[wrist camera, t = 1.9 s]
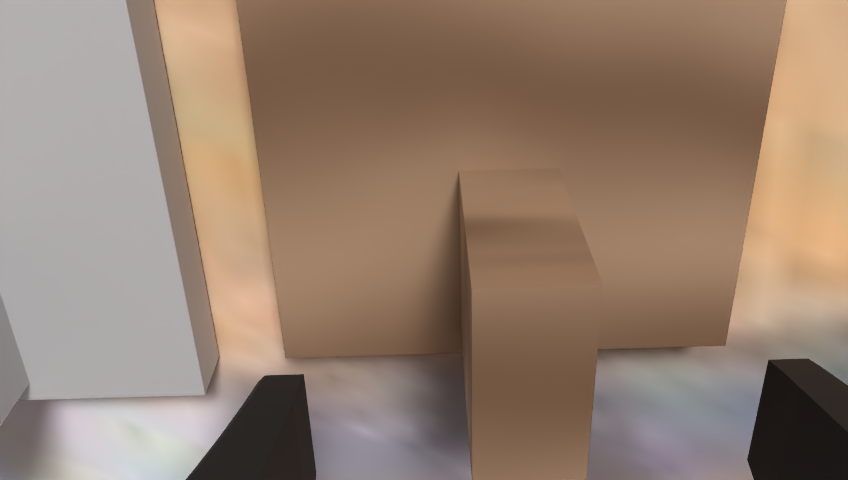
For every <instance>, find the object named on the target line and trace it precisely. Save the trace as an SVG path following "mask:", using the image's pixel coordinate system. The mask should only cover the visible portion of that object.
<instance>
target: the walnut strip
mask: <svg viewBox="0 0 848 480" xmlns="http://www.w3.org/2000/svg"><path fill="white" fill-rule="evenodd" d="M236 1H237V9H238V16H239V23H240V30H241V38H242V45H243V52H244V59H245V67H246V74H247V81H248V88H249V96H250V103H251V110H252V118H253V125H254V132H255V139H256V147H257V154H258V161H259V168H260V176H261V183H262V190H263V197H264V205H265V212H266V219H267V227H268V234H269V241H270V248H271V256H272V263H273V270H274V277H275V285H276V292H277V299H278V306H279V314H280V321H281V328H282V336H283V343H284V350H285V357H286V358H306V357H341V356H377V355H412V354H448V353H462V358H463V371H464V383H465V396H466V409H467V421H468V434H469V447H470V459H471V472H472V480H586V477H587V466H588V454H589V443H590V431H591V420H592V409H593V397H594V386H595V374H596V363H597V351H598V349H625V348H661V347H696V346H725V344H726V339H727V333H728V327H729V322H730V316H731V311H732V305H733V299H734V294H735V288H736V282H737V277H738V271H739V266H740V260H741V254H742V249H743V243H744V238H745V232H746V226H747V221H748V215H749V210H750V204H751V198H752V193H753V187H754V181H755V176H756V170H757V165H758V159H759V153H760V148H761V142H762V137H763V131H764V125H765V120H766V114H767V108H768V103H769V97H770V92H771V86H772V80H773V75H774V69H775V64H776V58H777V52H778V47H779V41H780V35H781V30H782V24H783V19H784V13H785V7H786V2H787V0H236Z"/></svg>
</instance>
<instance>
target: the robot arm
mask: <svg viewBox="0 0 848 480" xmlns="http://www.w3.org/2000/svg"><path fill="white" fill-rule="evenodd" d="M747 460H748V463H749V466H750V469H751V472H752V475H753V478H754V480H848V386H847V385H846V384H845V383H843V382H842V381H840V380H839V379H838V378H836V377H835V376H833V375H832V374H831V373H829V372H828V371H826V370H825V369H823V368H822V367H820V366H819V365H817V364H816V363H814V362H813V361H811V360H809V359H781V360H768V365H767V370H766V374H765V379H764V384H763V388H762V393H761V398H760V403H759V407H758V412H757V417H756V421H755V426H754V431H753V436H752V440H751V445H750V450H749V455H748V459H747ZM186 480H316V468H315V460H314V452H313V445H312V437H311V429H310V421H309V413H308V405H307V397H306V389H305V381H304V374H301V375H269V376H264V377H263V378H262V379H261V380H260V381H259V382H258V383H257V384H256V386H255V387H254V389H253V390H252V392H251V393H250V395H249V396H248V398H247V399H246V401H245V402H244V404H243V405H242V407H241V408H240V409H239V411H238V412H237V414H236V415H235V416H234V418H233V419H232V421H231V422H230V423H229V425H228V426H227V427H226V429H225V430H224V432H223V433H222V434H221V436H220V437H219V438H218V440H217V441H216V442H215V443H214V445H213V446H212V447H211V449H210V450H209V451H208V452H207V454H206V455H205V456H204V458H203V459H202V460H201V461H200V463H199V464H198V465H197V467H196V468H195V469H194V470H193V471H192V473H191V474H190V475H189V476H188V478H187V479H186Z"/></svg>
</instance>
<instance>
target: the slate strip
mask: <svg viewBox="0 0 848 480" xmlns="http://www.w3.org/2000/svg"><path fill="white" fill-rule="evenodd" d="M218 358H219V353H218V348H217V343H216V337H215V332H214V326H213V321H212V316H211V310H210V305H209V299H208V294H207V289H206V283H205V278H204V272H203V267H202V262H201V256H200V251H199V246H198V240H197V235H196V229H195V224H194V219H193V213H192V208H191V202H190V197H189V192H188V186H187V181H186V175H185V170H184V165H183V159H182V154H181V148H180V143H179V138H178V132H177V127H176V121H175V116H174V111H173V105H172V100H171V94H170V89H169V84H168V78H167V73H166V68H165V62H164V57H163V51H162V46H161V41H160V35H159V30H158V24H157V19H156V14H155V8H154V3H153V0H0V426H1V425H2V423H3V422H4V420H5V419H6V417H7V416H8V414H9V413H10V411H11V410H12V408H13V407H14V405H15V404H16V402H17V401H18V400H46V399H83V398H119V397H155V396H191V395H205V394H206V391H207V389H208V386H209V383H210V380H211V378H212V375H213V372H214V369H215V367H216V364H217V361H218Z"/></svg>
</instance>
